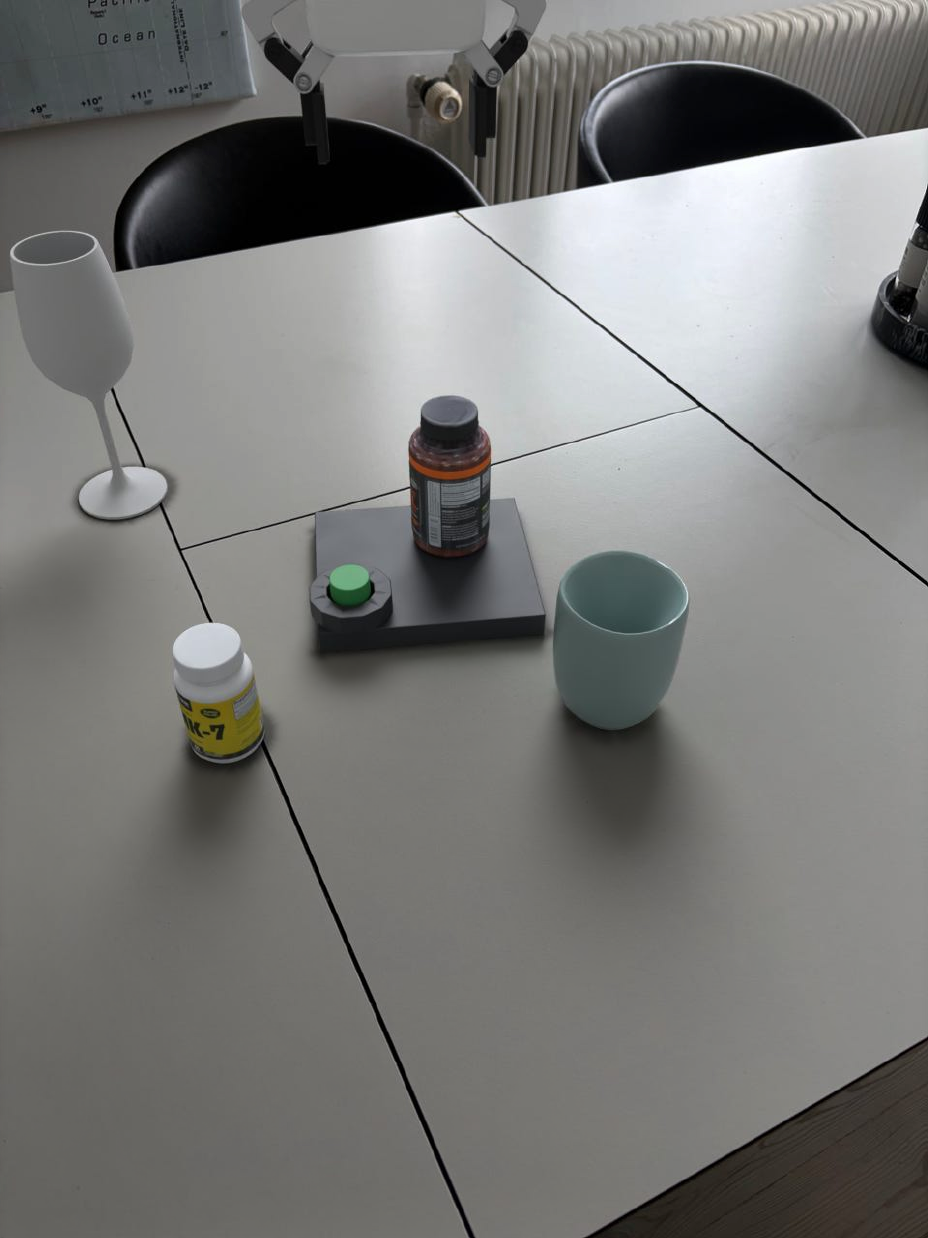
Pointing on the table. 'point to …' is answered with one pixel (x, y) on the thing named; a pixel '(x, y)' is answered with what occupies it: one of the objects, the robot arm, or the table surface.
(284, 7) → the robot arm
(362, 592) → the tare button
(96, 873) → the table surface
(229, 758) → the supplement bottle
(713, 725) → the table surface
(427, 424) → the supplement bottle
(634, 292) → the table surface
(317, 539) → the scale
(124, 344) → the wineglass
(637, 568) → the cup
